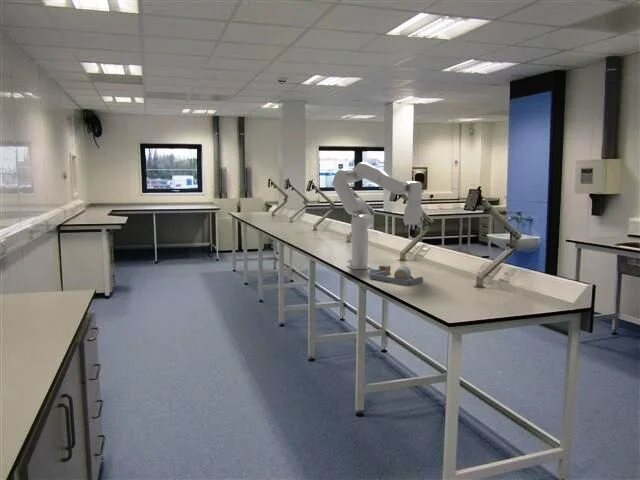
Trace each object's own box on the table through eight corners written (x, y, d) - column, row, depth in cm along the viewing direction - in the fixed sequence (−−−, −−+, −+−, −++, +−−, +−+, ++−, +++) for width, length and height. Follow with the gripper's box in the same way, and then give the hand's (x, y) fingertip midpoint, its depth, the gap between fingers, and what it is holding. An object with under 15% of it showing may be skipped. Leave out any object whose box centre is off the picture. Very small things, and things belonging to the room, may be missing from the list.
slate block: (369, 275, 282) (370, 268, 281) (374, 274, 285) (374, 267, 284) (375, 276, 279) (375, 269, 279) (380, 275, 282) (380, 268, 281)
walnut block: (378, 273, 288) (379, 265, 288) (383, 272, 292) (383, 264, 291) (385, 274, 285) (385, 266, 285) (390, 273, 289) (390, 265, 288)
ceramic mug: (393, 282, 265) (393, 267, 264) (396, 279, 272) (396, 265, 271) (413, 284, 261) (414, 269, 260) (416, 281, 269) (417, 267, 268)
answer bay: (369, 278, 274) (369, 273, 273) (384, 275, 284) (384, 270, 283) (408, 285, 257) (408, 280, 257) (422, 281, 267) (423, 277, 267)
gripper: (399, 203, 289) (397, 235, 292) (422, 205, 279) (420, 238, 282) (406, 202, 295) (404, 234, 297) (429, 204, 285) (427, 237, 287)
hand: (412, 236), depth 289 cm, fingers closed
